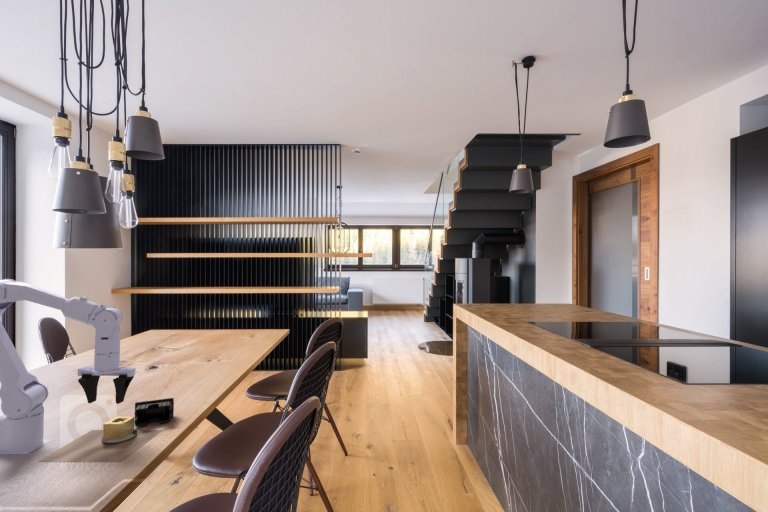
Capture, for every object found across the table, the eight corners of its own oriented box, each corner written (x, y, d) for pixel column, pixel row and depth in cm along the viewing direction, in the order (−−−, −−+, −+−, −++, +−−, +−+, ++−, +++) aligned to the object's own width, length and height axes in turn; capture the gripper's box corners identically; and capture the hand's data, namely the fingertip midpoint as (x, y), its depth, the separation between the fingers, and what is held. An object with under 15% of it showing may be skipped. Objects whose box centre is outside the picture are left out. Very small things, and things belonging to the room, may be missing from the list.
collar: (103, 439, 104) (103, 424, 104) (115, 431, 109) (116, 416, 109) (122, 439, 104) (122, 424, 104) (134, 431, 109) (134, 416, 109)
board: (36, 464, 94) (36, 461, 94) (92, 431, 112) (92, 429, 112) (121, 464, 94) (121, 461, 94) (163, 432, 112) (163, 429, 112)
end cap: (173, 416, 123) (173, 395, 124) (172, 425, 117) (172, 402, 117) (136, 422, 119) (136, 399, 119) (132, 431, 113) (133, 407, 113)
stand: (94, 444, 103) (94, 428, 103) (114, 431, 111) (114, 416, 111) (124, 444, 103) (125, 428, 103) (143, 431, 111) (143, 416, 111)
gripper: (69, 355, 105) (67, 407, 104) (124, 356, 104) (122, 408, 104) (89, 349, 112) (87, 398, 111) (140, 350, 112) (139, 398, 111)
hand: (105, 402), depth 108 cm, fingers open, 7 cm apart
